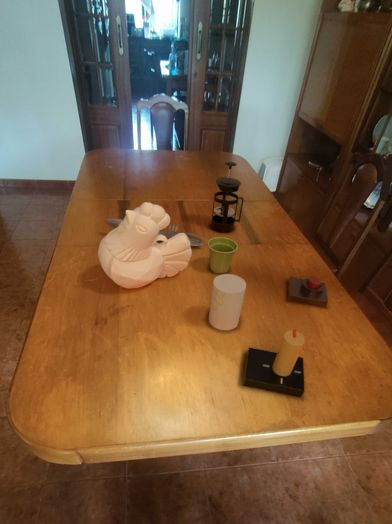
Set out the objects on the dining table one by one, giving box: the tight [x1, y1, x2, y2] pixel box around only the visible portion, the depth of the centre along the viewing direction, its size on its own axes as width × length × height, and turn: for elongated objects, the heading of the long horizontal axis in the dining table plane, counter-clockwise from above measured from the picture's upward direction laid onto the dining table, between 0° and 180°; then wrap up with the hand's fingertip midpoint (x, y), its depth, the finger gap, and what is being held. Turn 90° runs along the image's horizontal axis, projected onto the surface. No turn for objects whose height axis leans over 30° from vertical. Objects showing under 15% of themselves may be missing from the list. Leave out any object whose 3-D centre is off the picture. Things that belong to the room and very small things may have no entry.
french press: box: [209, 161, 245, 234], centre depth 116 cm, size 12×9×23 cm
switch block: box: [287, 276, 329, 308], centre depth 96 cm, size 11×10×4 cm
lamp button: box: [307, 276, 322, 289], centre depth 94 cm, size 4×4×2 cm
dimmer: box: [242, 347, 305, 398], centre depth 73 cm, size 13×10×3 cm
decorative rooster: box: [97, 201, 193, 289], centre depth 88 cm, size 25×16×25 cm
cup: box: [208, 273, 247, 331], centre depth 82 cm, size 8×8×12 cm
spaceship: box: [104, 217, 205, 247], centre depth 110 cm, size 8×35×8 cm
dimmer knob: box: [272, 329, 306, 376], centre depth 68 cm, size 4×4×10 cm
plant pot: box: [207, 236, 239, 275], centre depth 101 cm, size 9×9×9 cm
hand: (380, 230), depth 81 cm, fingers closed
